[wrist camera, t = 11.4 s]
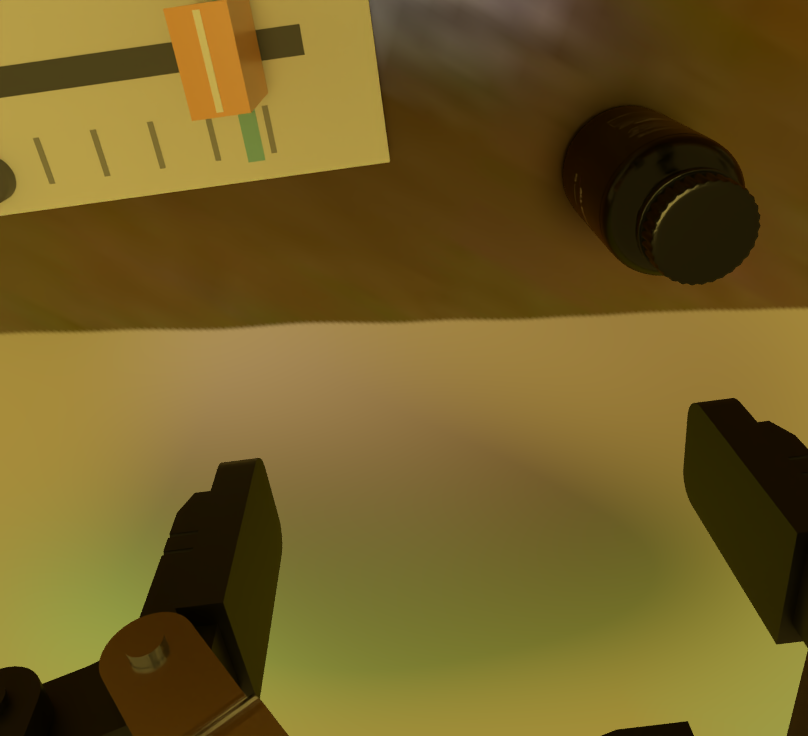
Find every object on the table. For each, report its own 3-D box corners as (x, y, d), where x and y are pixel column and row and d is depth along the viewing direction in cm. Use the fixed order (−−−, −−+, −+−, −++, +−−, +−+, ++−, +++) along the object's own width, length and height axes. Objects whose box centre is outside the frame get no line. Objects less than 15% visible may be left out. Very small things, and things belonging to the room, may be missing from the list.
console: (-142, -51, 34) (-200, -54, 31) (352, -124, 34) (349, -136, 30) (-29, 211, 41) (-67, 233, 37) (389, 153, 40) (390, 170, 37)
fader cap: (194, 3, 34) (162, 8, 29) (248, -5, 34) (225, -1, 29) (217, 99, 36) (191, 121, 31) (268, 93, 36) (250, 113, 31)
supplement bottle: (537, 191, 42) (593, 265, 31) (605, 80, 39) (693, 119, 28) (631, 243, 43) (715, 329, 33) (703, 140, 41) (820, 199, 30)
